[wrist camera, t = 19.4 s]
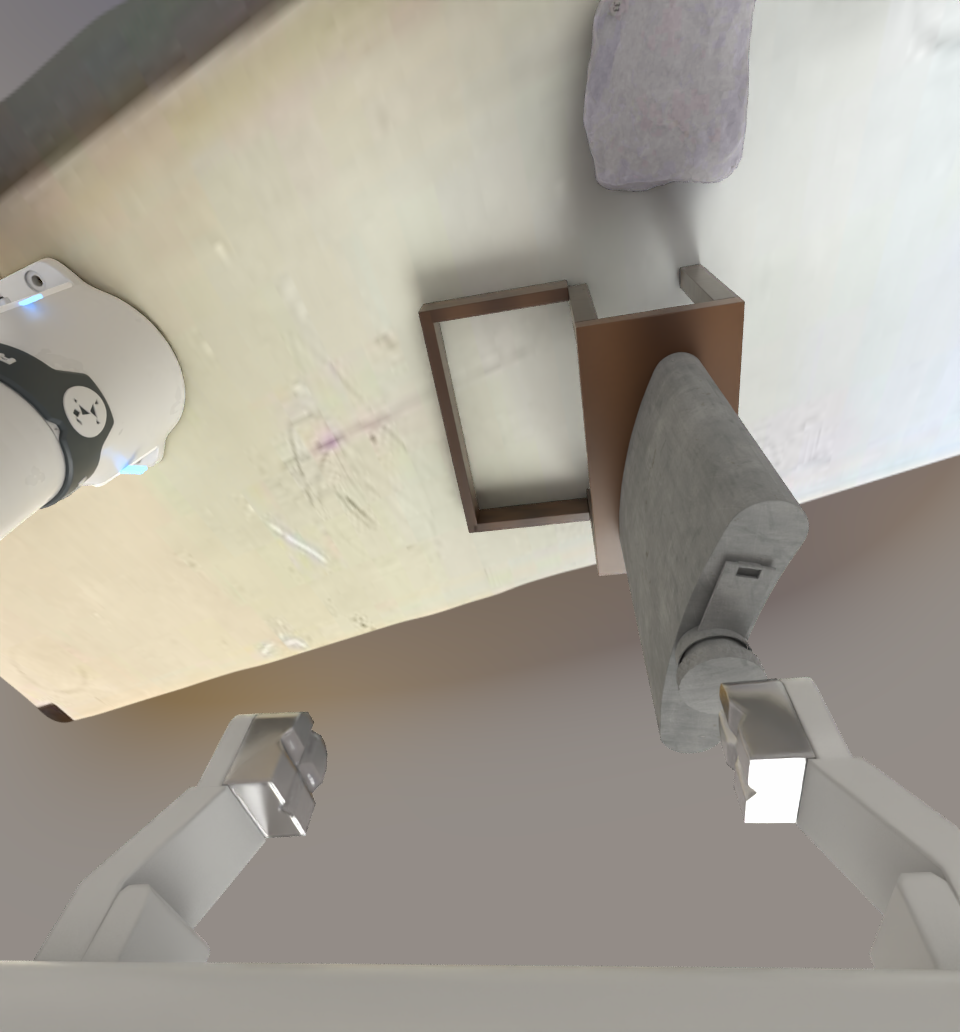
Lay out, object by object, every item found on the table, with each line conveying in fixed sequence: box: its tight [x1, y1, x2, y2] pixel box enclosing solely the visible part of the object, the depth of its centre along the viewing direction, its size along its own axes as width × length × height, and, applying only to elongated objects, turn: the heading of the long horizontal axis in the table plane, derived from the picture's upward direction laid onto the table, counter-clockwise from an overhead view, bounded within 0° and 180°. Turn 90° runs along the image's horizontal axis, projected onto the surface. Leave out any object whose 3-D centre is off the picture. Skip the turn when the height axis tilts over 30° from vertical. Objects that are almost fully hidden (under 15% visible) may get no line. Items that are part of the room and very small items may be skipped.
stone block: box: [583, 0, 756, 191], centre depth 38 cm, size 12×5×10 cm
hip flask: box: [619, 352, 809, 753], centre depth 33 cm, size 16×4×20 cm, turn 178°
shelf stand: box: [419, 264, 745, 576], centre depth 47 cm, size 22×21×11 cm
